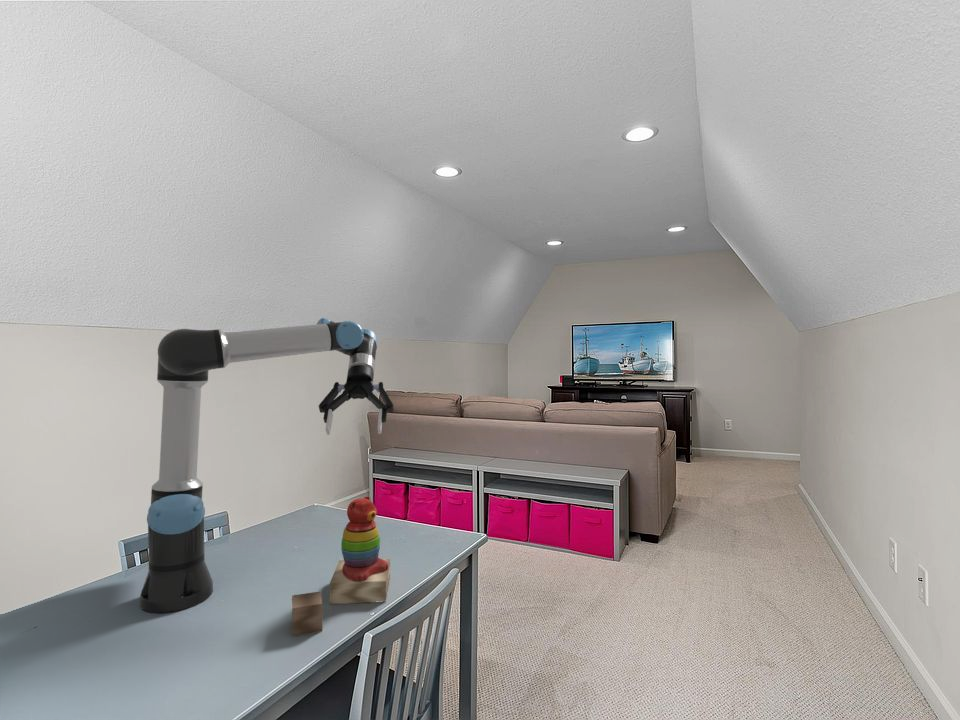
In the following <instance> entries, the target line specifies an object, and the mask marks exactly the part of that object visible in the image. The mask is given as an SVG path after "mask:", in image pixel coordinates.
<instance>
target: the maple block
mask: <svg viewBox="0 0 960 720" xmlns="http://www.w3.org/2000/svg"><path fill="white" fill-rule="evenodd" d="M382 559H383V560H385V561H386V562H387V563H388V569H387V570H385V571H383V572H377V573H374V574H372V575H370V576H369V577H368V578H367V579H366V580H363V581H353V580H350V579H348V578H347V577H345V576H344V574H343V572H342V568H343V565H344V563H345V562H344V559H343V560H340V559H339V560H338V563H337V566H336V568H335V570H334V572H333V575H332V576H331V580H330V581H329V605H341V604H343V605H344V604H345V605H346V604H363V603H362V602H371V603H377V602H376V601H386V602H387V599H386V598H387V597H388V593H387V592H389V588H388V587H389V586H390V582H391V558H382ZM389 581H390V582H389Z"/></svg>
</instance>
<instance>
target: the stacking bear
mask: <svg viewBox="0 0 960 720" xmlns="http://www.w3.org/2000/svg"><path fill="white" fill-rule="evenodd" d="M377 513H378V509H377V508H376V506H375V504H374V502H372V500H371V499H370V497H369V496H368V495H367V496H364V497H363V498H356V499H353V500H352V501H351V502H349V505H348V506H347V510H346V514H347V515H346V516H347V519H348V520H349V522H348V523H346V526H344V529H343V531H342V538H341V543H340V544H341V547H340V548H341V555H342V558H343V560H344V562H345V563H344V565H343V568H342V572H343V574H344V576H345V577H347V578H348V579H350V580H353V581H363V580H366V579H367V578H368V577H369V576H370V575H372V574H374V573H377V572H383V571H385V570H387V569H388V563H387V562H386V561H385V560H383V559H384V558H381V557H379V554H380V549H381V547H380V546H381V537H380V534H379V529H378V526H377V522H375V520H374V519H375V518H376V516H377Z"/></svg>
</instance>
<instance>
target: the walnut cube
mask: <svg viewBox="0 0 960 720" xmlns="http://www.w3.org/2000/svg"><path fill="white" fill-rule="evenodd" d="M291 602H292V603H291V610H292V611H291V612H292V614H291V618H292V619H291V620H292V623H291V625H292V626H291V627H292V629H291V631H292V637H297V636H304V635H308V634H313V633H314V634H315V633H321V632H323V599H322V591H313V592H307V593H299V594H294V595H291Z"/></svg>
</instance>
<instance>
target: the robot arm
mask: <svg viewBox="0 0 960 720" xmlns="http://www.w3.org/2000/svg"><path fill="white" fill-rule="evenodd" d="M377 343H378V340H377V335H376V333H375V332H374V331H372V330H371V329H368V328H367V329H364V328H362V326H361V325H359V324H358V323H357V322H355V321H351V320H345V321H340V322H339V321H338V322H335V321H333V320H332V319H327V318H325V317H322V318H320V319H319V320H318V321H317V323H316V324H307V325H296V326H286V327H277V328H275V327H274V328H263V329H253V330H241V331H231V332H225V331H222V330H221V329H204V330H203V329H202V330H201V329H189V328H181V329H179V328H178V329H175V330H173V331H170V332H168V333H167V334H166V335H165V336H163V338H162V339H161V340H160V341H159V344H158V345H157V346H158V347H157V372H156V373H157V375H156V376H157V378H156V381H157V382H158V384H160V385H161V386H162V387H163V394H162V414H161V416H162V417H161V434H160V449H159V450H160V453H159V454H160V455H159V471H158V472H159V473H158V480H157V481H156V482H155V483H153V484H152V486H151V491H150V495H151V496H150V506H149V507H148V511H147V516H146V523H147V535H148V536H147V537H148V538H147V539H148V540H147V544H148V545H147V547H148V548H147V549H148V551H147V553H148V554H147V556H148V572H147V573H146V574H147V575H146V578H145V580H144V583H143V585H142V586H143V587H142V590H141V593H140V595H139V597H140V598H139V600H140V602H139V603H140V604H139V605H140V606H139V607H140V608H141V609H142V608H143V609H144V610H143V609H142V610H143V611H145V610H146V612H148V611H150V612H149V613H155V612H163V613H172V612H177V611H182V610H185V609H188V608H191V607H195V606H197V605H198V604H200V603H203V602H204V601H206V600H207V599H208V598H210V596H211V595H212V594H213V593H214V581H213V578H212V576H211V573H210V571H209V569H208V565H207V563H206V561H205V514H206V509H205V506H204V501H203V487H204V486H203V485H204V483H203V482H202V481H201V479H199V478H198V477H197V475H198V458H199V457H198V456H199V441H200V440H199V436H200V435H199V433H200V418H201V417H200V416H201V414H200V413H201V397H202V388H203V386H204V385H206V384H207V383H208V382H209V371H210V370H216V369H224V368H226V367H227V366H228V365H229V364H232V363H238V362H239V363H240V362H247V361H254V360H264V359H272V358H279V357H282V358H283V357H290V356H296V355H305V354H313V353H314V354H315V353H322V352H328V351H329V352H332V351H336V352H340V353H342V354H344V355H345V356H349V361H348V362H349V363H348V368H347V373H346V382H345V383H344V384H340V383H339V382H338V381H335V383H334V384H333V386H332V387H333V388H332V389H331V390H330V391H329V393H327V394H326V396H325V397H324V398H323V400H322V401H321V402H320V403H319V404H318V409H319V413H322V414H323V422H324V424H325V432H326V435H327V436H328V435H331V429H332V425H333V424H332V423H333V417H334V413H333V412H334V411H335V410H338V408H340V407H341V406H342V405H343V404H344V403H345V402H348V401H349V400H351V399H352V400H357V399H361V400H364V399H365V398H366V399H367V400H368V401H369V402H371V403H372V404H373V405H374V406H375V407H376V408H377V409H378V410H379V411H378V420H377V433H378V435H381V434H382V428H383V423H386V422H387V416H388V415H387V414H388V413H393V412H394V409H395V408H394V404H393V402H392V400H391V399H390V397H389V395H388V394H387V392H386V390H385V388H384V382H383V381H380V382H378V383H377V384H374V373H375V366H376V365H375V364H376V354H377V349H378V344H377ZM374 390H375V391H376V392H377V393H379V395H380V397H381V400H383V401H381V400H380V398H379V397H377V395H375V394H374V392H373V391H374ZM341 391H342V393H341ZM339 393H340V394H339ZM171 611H172V612H171Z"/></svg>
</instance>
